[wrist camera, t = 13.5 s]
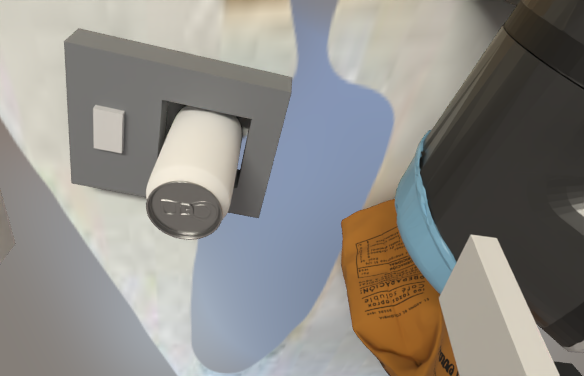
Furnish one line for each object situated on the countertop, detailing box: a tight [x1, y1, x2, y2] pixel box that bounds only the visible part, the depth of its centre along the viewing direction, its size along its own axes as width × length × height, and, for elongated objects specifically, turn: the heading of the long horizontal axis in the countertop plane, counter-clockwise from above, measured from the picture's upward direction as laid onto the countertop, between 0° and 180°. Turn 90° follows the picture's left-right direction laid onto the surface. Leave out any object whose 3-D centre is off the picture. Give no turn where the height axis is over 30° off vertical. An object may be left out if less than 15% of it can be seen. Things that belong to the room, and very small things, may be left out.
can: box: [146, 105, 242, 240], centre depth 40 cm, size 6×6×12 cm
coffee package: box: [341, 199, 460, 376], centre depth 44 cm, size 10×12×22 cm
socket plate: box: [64, 28, 292, 218], centre depth 43 cm, size 18×14×4 cm
